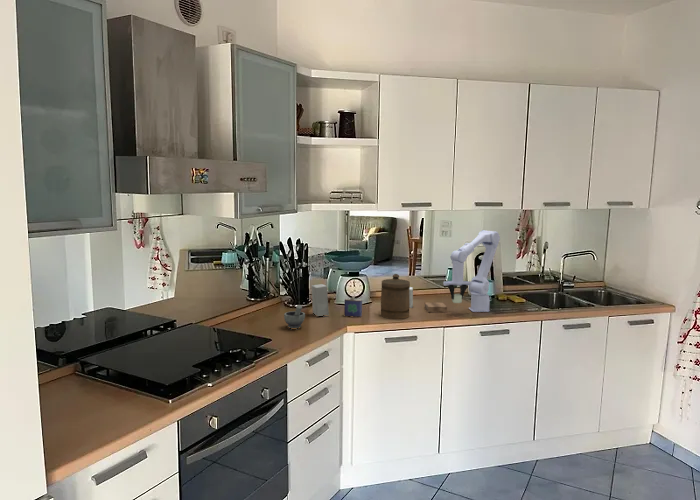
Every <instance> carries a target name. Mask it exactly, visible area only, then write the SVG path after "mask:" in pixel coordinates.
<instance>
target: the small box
mask: <svg viewBox="0 0 700 500" xmlns="http://www.w3.org/2000/svg"><path fill="white" fill-rule="evenodd" d="M413 288H414V287H413V286H412V287H411V286H410V292H409V298H410V308H411V309H412V308H413V307H414V306H413V305H414V302H413V301H414V289H413ZM410 308H409V309H410Z"/></svg>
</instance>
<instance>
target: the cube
mask: <svg viewBox="0 0 700 500" xmlns="http://www.w3.org/2000/svg"><path fill="white" fill-rule="evenodd" d="M462 301H463V299H462V295H461V294H460V293H454V299H451V302H452V303H453V304H462Z"/></svg>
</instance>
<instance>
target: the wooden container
mask: <svg viewBox="0 0 700 500" xmlns="http://www.w3.org/2000/svg"><path fill="white" fill-rule="evenodd" d="M410 287H411V284H410V281H409V280H406V279H402V278H401V279H400V275H399V274H398V273H394V274H392V278H387V279H382V280H381V288H380V291H381V292H380V316H381V317H382V318H386V319H389V320H403V319H406V318H409V317H410V298H409V292H410Z"/></svg>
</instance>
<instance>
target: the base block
mask: <svg viewBox="0 0 700 500" xmlns="http://www.w3.org/2000/svg"><path fill="white" fill-rule="evenodd" d="M424 309H425V310H426V312H427V313H447V312H448V306H447V305H446V304H445V303H444V302H424Z"/></svg>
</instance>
